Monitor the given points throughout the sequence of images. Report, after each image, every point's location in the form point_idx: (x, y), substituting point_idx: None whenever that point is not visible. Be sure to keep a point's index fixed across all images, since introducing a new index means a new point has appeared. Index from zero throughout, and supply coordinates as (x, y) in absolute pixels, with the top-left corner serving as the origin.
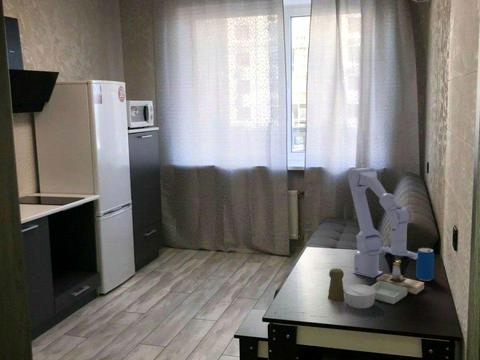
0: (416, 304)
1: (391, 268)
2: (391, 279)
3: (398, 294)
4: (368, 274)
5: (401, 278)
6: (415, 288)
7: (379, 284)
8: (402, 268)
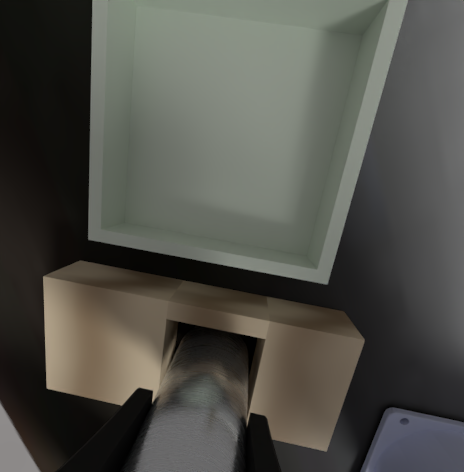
0: (13, 91)
1: (252, 469)
2: (255, 374)
3: (94, 60)
4: (435, 434)
5: (167, 370)
6: (55, 274)
7: (314, 253)
8: (84, 466)
